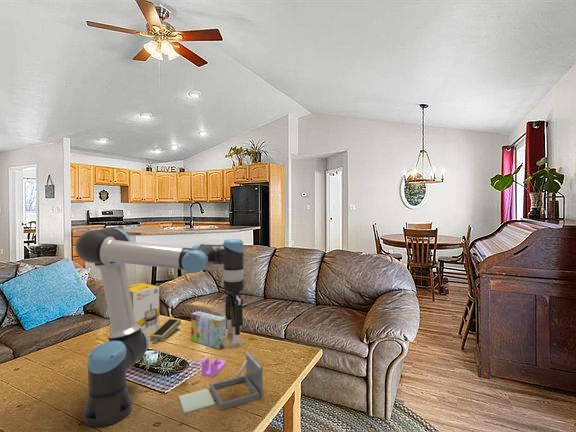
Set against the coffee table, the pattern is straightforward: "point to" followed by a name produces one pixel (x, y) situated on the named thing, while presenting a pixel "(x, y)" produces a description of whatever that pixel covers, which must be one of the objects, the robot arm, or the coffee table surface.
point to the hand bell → (229, 340)
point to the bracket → (211, 367)
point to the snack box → (208, 329)
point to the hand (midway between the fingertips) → (233, 338)
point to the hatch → (251, 379)
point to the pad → (196, 400)
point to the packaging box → (145, 305)
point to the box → (165, 330)
